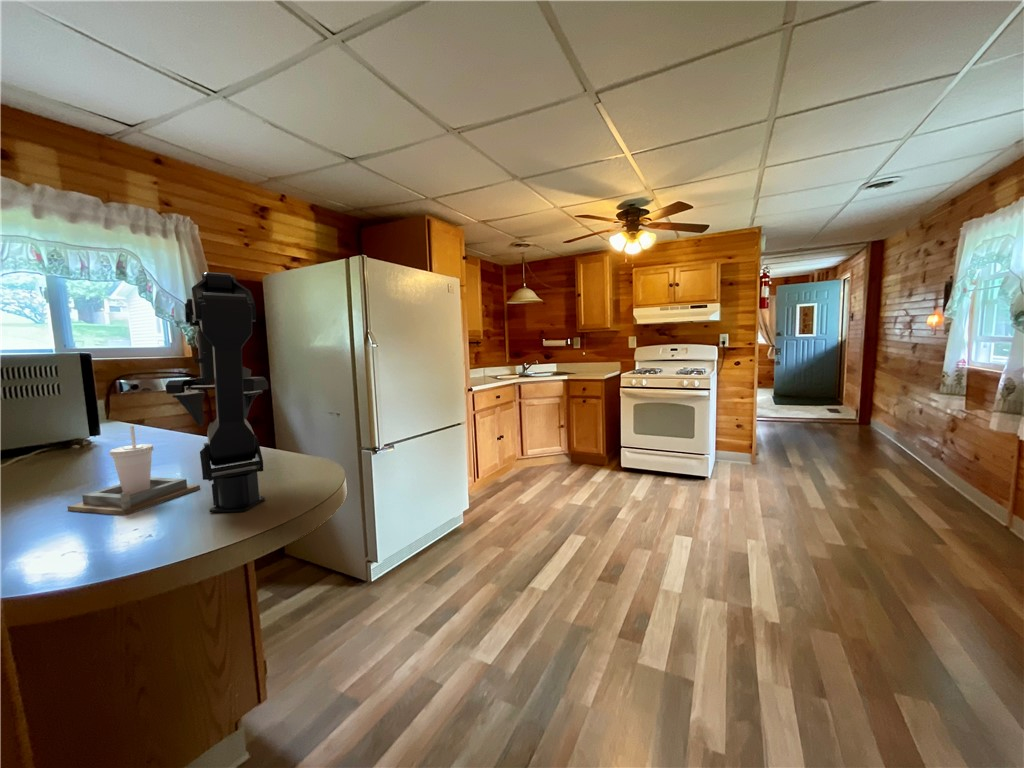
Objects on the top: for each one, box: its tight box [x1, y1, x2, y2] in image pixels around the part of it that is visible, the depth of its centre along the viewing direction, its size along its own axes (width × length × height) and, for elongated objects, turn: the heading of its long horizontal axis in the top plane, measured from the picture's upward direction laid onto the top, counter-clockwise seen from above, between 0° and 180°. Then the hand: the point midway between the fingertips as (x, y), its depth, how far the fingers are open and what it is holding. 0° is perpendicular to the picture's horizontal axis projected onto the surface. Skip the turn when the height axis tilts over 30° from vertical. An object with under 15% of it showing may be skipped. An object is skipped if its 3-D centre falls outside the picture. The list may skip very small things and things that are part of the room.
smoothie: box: [109, 425, 155, 495], centre depth 81 cm, size 6×6×14 cm
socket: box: [67, 476, 201, 516], centre depth 82 cm, size 14×14×4 cm
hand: (221, 424), depth 90 cm, fingers open, 9 cm apart
